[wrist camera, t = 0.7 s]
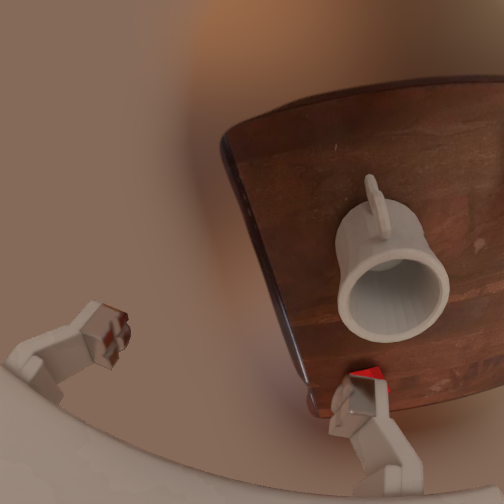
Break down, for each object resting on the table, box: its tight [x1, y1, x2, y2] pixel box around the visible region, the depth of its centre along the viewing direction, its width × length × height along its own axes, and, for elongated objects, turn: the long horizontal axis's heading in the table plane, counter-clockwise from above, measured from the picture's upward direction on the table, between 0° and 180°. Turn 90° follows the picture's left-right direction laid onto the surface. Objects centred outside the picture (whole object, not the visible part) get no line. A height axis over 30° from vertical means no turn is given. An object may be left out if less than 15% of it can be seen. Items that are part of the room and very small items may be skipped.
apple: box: [349, 366, 391, 393], centre depth 36 cm, size 7×7×8 cm
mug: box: [335, 174, 450, 343], centre depth 24 cm, size 12×9×10 cm
